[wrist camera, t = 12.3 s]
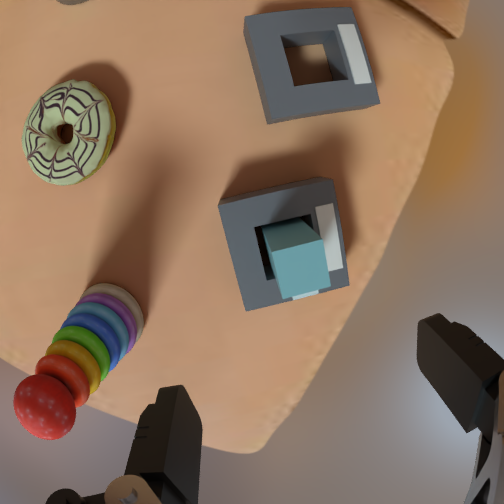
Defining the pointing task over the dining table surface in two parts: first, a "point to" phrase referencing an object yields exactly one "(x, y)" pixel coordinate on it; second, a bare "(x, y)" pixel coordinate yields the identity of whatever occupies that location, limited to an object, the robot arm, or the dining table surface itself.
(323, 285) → the plug
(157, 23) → the dining table surface
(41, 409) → the stacking toy
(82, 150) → the decorated donut
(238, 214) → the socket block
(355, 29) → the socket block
